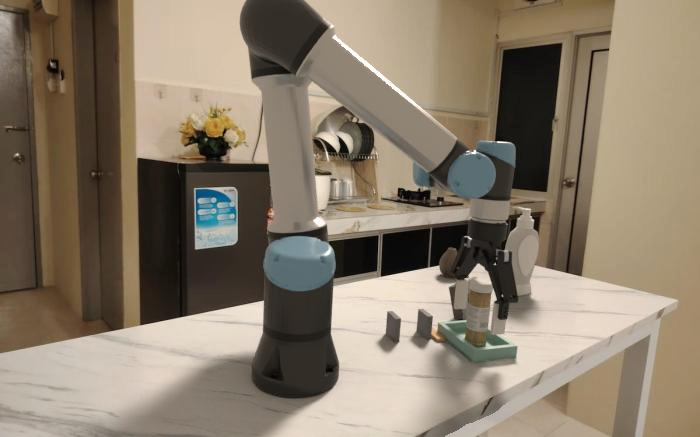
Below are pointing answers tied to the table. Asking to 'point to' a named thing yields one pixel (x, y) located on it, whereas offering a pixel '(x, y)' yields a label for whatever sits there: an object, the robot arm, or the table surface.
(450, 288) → the electrical switch
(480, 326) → the sprinkles bottle
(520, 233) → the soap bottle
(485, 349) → the parts tray
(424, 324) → the grey and orange blocks
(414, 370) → the table surface
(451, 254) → the vase
